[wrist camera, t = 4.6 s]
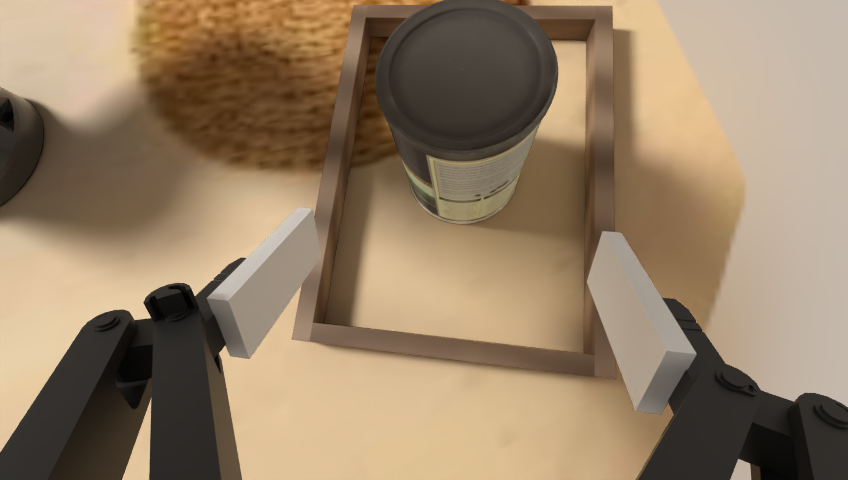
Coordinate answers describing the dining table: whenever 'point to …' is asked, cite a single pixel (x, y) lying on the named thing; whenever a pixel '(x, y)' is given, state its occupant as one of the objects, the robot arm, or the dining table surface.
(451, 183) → the coffee can
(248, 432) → the dining table surface
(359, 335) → the walnut frame
